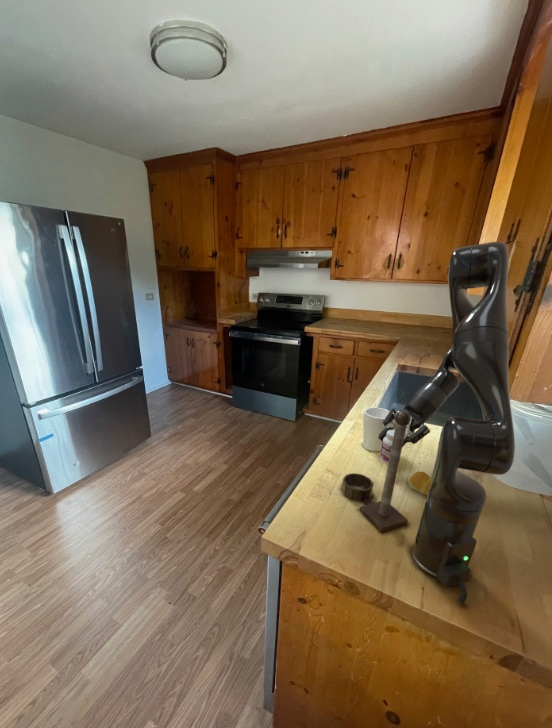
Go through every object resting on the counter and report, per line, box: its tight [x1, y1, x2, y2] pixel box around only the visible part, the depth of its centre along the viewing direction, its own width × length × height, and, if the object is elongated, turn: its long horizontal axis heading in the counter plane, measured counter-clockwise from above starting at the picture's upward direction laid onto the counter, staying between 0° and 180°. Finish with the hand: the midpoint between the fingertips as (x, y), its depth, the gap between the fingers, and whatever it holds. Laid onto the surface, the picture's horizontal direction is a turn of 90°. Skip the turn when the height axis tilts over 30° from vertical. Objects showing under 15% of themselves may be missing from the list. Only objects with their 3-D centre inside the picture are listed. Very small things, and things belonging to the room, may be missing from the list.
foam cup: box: [362, 406, 390, 452], centre depth 113 cm, size 10×9×13 cm
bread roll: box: [407, 471, 432, 497], centre depth 93 cm, size 8×9×4 cm
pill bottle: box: [379, 430, 395, 465], centre depth 99 cm, size 5×5×10 cm
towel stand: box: [341, 412, 411, 533], centre depth 82 cm, size 18×8×29 cm, turn 21°
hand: (387, 444), depth 98 cm, fingers closed on pill bottle, 5 cm apart
